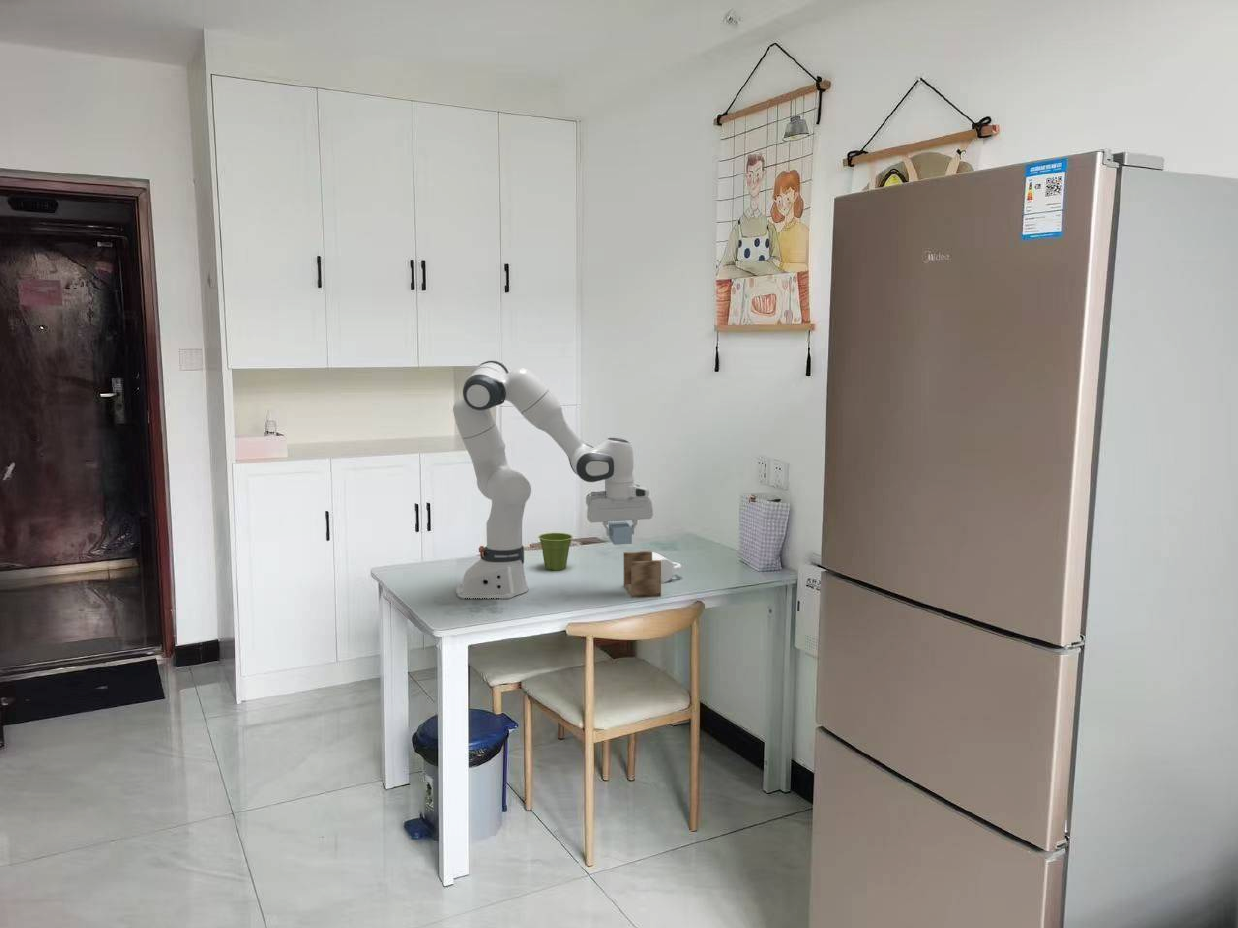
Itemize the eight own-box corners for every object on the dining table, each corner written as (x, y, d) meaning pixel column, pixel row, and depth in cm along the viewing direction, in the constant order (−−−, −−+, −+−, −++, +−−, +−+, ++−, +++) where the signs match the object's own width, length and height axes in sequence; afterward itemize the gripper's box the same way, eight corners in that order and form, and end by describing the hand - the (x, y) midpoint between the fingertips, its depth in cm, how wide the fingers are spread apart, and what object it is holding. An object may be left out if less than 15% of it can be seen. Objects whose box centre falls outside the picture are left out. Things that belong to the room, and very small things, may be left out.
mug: (652, 584, 292) (652, 560, 291) (640, 576, 301) (640, 553, 300) (685, 580, 296) (686, 556, 295) (672, 572, 306) (673, 549, 304)
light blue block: (614, 544, 274) (613, 528, 274) (608, 537, 284) (608, 521, 283) (631, 543, 275) (631, 527, 274) (626, 536, 284) (625, 520, 284)
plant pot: (557, 574, 304) (557, 541, 302) (531, 569, 311) (531, 537, 309) (580, 567, 313) (579, 535, 311) (554, 562, 320) (553, 531, 318)
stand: (632, 597, 277) (632, 562, 275) (623, 585, 290) (623, 552, 288) (660, 595, 279) (661, 561, 277) (650, 584, 292) (651, 550, 290)
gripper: (587, 494, 272) (588, 538, 274) (653, 490, 276) (654, 534, 278) (584, 490, 278) (585, 534, 280) (649, 487, 282) (649, 530, 284)
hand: (620, 534), depth 279 cm, fingers closed on light blue block, 5 cm apart
